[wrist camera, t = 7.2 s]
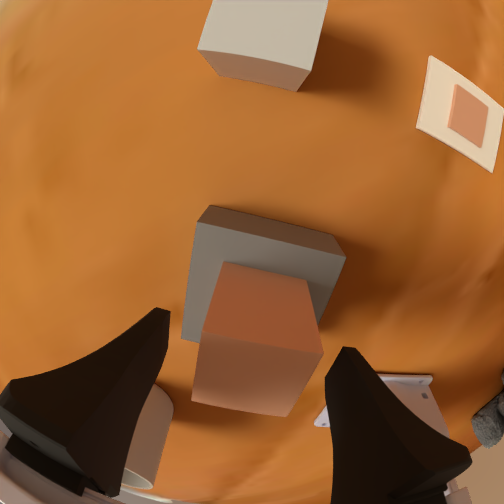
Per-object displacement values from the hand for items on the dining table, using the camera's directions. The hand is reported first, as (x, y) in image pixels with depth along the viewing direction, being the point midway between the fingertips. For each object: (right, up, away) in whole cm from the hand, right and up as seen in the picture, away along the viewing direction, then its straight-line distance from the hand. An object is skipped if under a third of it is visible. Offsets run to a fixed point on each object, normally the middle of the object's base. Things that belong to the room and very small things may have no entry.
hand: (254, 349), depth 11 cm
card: (+13, +12, +1) cm, 18 cm away
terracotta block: (0, +1, +3) cm, 3 cm away
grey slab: (0, +3, +6) cm, 6 cm away
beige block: (+1, +14, +1) cm, 14 cm away
